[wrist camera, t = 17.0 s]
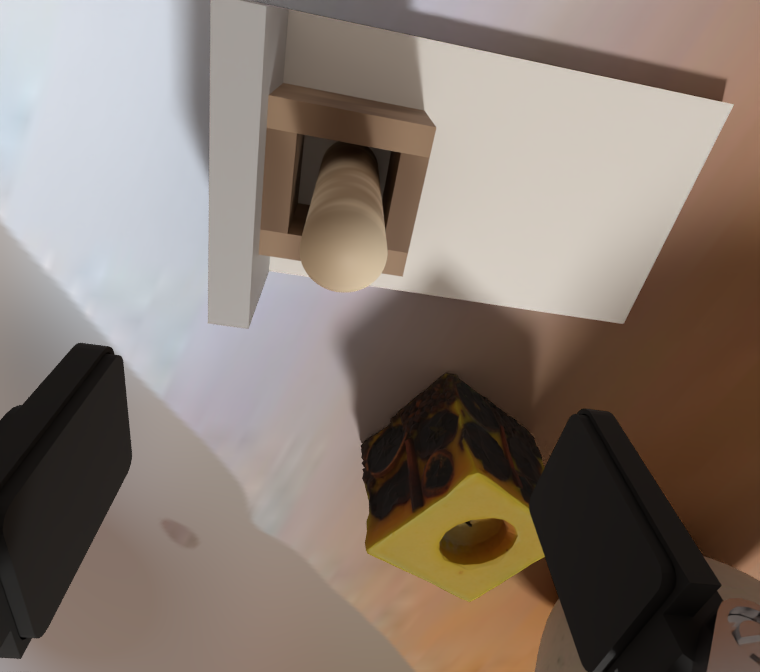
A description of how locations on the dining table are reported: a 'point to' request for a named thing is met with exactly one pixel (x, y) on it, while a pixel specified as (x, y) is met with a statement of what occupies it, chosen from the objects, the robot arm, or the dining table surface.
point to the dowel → (345, 221)
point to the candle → (452, 491)
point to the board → (460, 163)
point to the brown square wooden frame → (351, 125)
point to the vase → (557, 649)
